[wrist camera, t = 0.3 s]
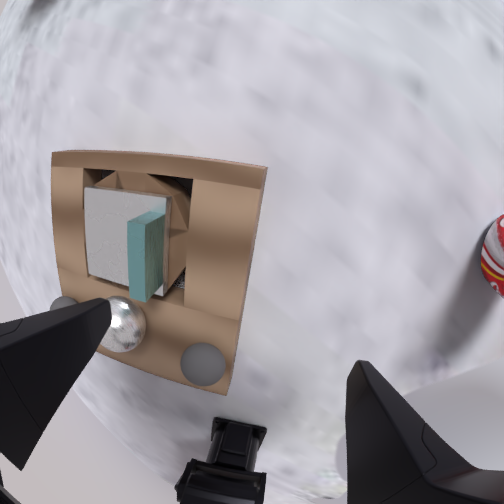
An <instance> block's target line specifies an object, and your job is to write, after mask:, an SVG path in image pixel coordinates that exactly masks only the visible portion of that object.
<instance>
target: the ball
mask: <svg viewBox="0 0 504 504" xmlns="http://www.w3.org/2000/svg"><path fill="white" fill-rule="evenodd" d="M105 299H107V300H109V301H110V304H111V313H112V323H111V325H110V327H109V329H108V330H107V332H106V334H105V336H104V337H103V339H102V341H101V343H100V344H101V345H102V346H104V347H105V348H106V349H108V350H111V351H114V352H127V351H130V350H132V349H134V348H135V347H137V346H138V345H139V344H140V343H141V341H142V339H143V337H144V335H145V331H146V321H145V316H144V314H143V312H142V310H141V308H140V307H139V306H138V305H137V304H136V303H135V302H134V301H133V300H131V299H129V298H127V297H124V296H119V295H116V296H110V297H107V298H105Z"/></svg>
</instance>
